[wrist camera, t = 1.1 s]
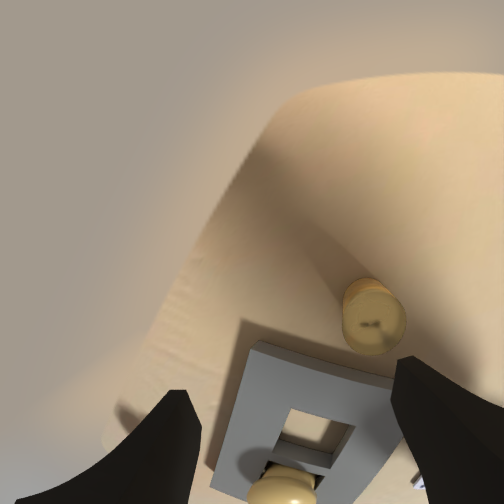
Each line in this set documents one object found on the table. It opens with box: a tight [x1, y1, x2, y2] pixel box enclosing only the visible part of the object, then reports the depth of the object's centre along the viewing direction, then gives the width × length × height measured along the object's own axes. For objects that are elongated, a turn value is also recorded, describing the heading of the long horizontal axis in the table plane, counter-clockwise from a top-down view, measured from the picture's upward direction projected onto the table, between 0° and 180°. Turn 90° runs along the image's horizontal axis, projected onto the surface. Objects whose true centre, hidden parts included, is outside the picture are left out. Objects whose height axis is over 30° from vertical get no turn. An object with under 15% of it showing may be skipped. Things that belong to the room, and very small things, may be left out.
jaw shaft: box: [342, 278, 406, 356], centre depth 15 cm, size 3×3×6 cm
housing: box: [210, 340, 404, 504], centre depth 17 cm, size 13×17×4 cm
